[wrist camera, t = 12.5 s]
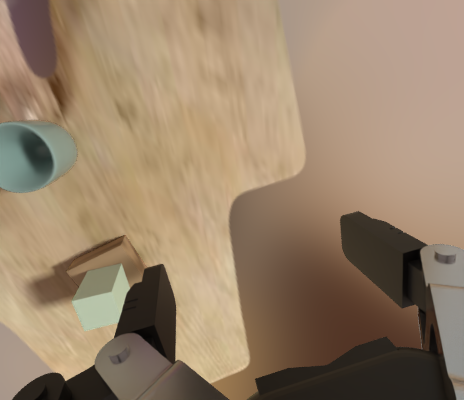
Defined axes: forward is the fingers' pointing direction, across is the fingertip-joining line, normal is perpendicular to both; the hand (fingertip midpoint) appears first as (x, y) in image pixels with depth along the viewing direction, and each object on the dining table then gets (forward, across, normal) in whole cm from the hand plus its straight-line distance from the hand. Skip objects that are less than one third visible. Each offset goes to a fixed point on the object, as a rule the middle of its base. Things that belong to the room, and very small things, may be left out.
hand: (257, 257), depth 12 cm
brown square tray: (+34, +19, +16) cm, 41 cm away
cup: (+33, +20, -5) cm, 39 cm away
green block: (+30, +19, +16) cm, 38 cm away
